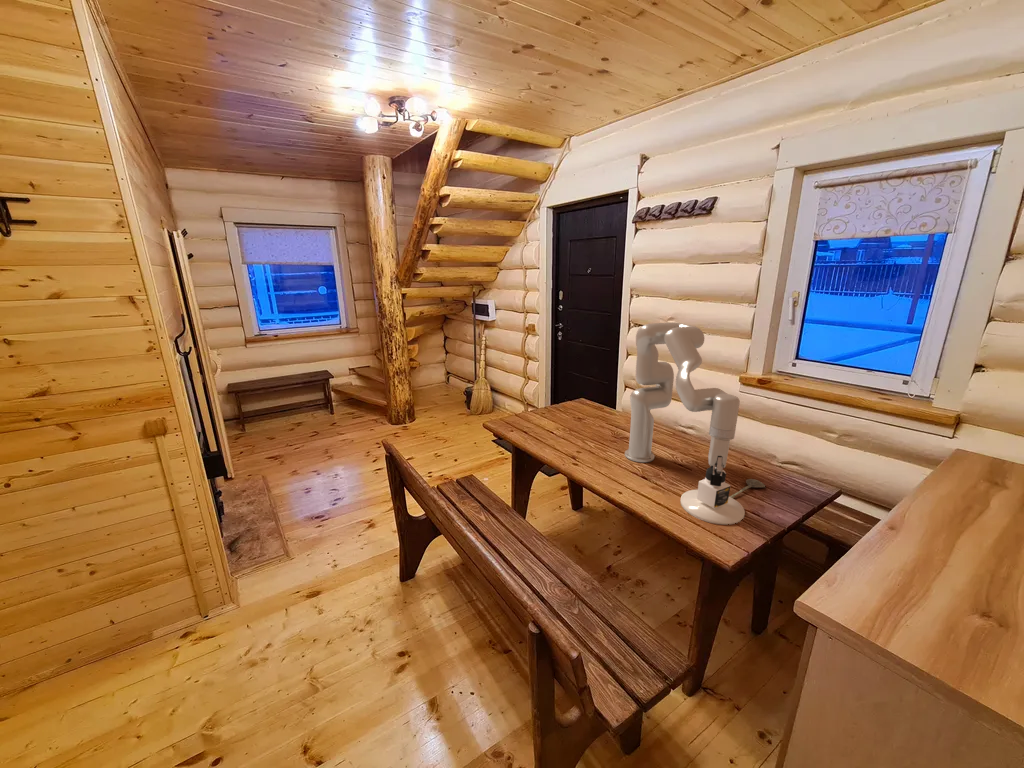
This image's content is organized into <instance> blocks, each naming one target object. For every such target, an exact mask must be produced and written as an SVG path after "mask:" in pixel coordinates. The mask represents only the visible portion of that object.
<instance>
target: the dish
mask: <svg viewBox="0 0 1024 768" xmlns="http://www.w3.org/2000/svg"><path fill="white" fill-rule="evenodd" d="M697 492H698V489H690V490H687V491H685V492H682V494H681V497H680V506H681V507H682V508H683V510H684V511H685V512H687V513H688V514H689V515H690V516H692V517H694V518H696V519H698V520H700V521H703V522H706V523H710V524H715V525H725V526H730V525H736V524H738V522H739V523H740V522H742V521H743V520H744V518H745V513H746V512H745V508H744V506H743V505H742V504H741V503H740V502H739V501H737V500H736V499H734V497H733V498H731V497H729V498H728V503H727V504H724V505H722V506H719V507H717V508H712V507H711V506H709V505H707V504H705V503H703V502H702V501H700V500H698V499H697ZM742 519H743V520H742ZM741 520H742V521H741ZM735 523H736V524H735ZM728 524H729V525H728Z"/></svg>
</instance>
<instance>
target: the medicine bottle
mask: <svg viewBox="0 0 1024 768" xmlns="http://www.w3.org/2000/svg"><path fill="white" fill-rule="evenodd" d="M715 469H717V468H716V467H715ZM711 473H713V467H711V466H709V467H708V468H706V472H705V477H704V478H703V479H702V480H699V481H698V485H697V490H698V492H697V499H698V500H700V501H702V502H703V503H705V504H707V505H709V506H711V507H712V508H717V507H719V506H722V505H724V504H727V503H728V498H729V496H730V489H731V485H730V484H729V483H727V482H726V477H727V473H726V471H725V470H724V469H723V470H722V481H721V486H715V485H711V484H710V480H711Z"/></svg>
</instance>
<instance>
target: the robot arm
mask: <svg viewBox="0 0 1024 768" xmlns="http://www.w3.org/2000/svg"><path fill="white" fill-rule="evenodd" d="M704 343H705V334H704V332H703V330H702V329H701V328H700V327H698V326H695V325H691V324H685V323H682V322H652V323H647V324H644V325H641V326H640V327H639V328H638V330H637V331H636V334H635V345H636V346H635V347H636V363H635V364H636V365H635V380H636V381H635V382H636V383H637V384H638V385H641V386H647V387H641V388H636V389H634V390H632V391H631V393H630V396H629V401H630V411H631V412H630V429H629V442H628V449H626V450H625V451H624V456H625V457H626V459H628V460H629V461H632V462H637V463H651V462H652V461H654V460H655V454H654V453H653V452H652V447H653V446H652V445H653V438H654V437H653V435H654V427H655V426H654V423H655V419H654V416H653V415H652V413H651V410H656V409H664V408H667V407H669V406H670V405H671V402H672V398H673V389H674V378H675V377H676V378H675V389H676V392H677V393H676V394H677V395H678V397H679V399H680V401H681V403H682V405H683V406H684V408H685V409H686V410H687V411H689V412H692V413H693V412H694V413H697V412H700V413H701V412H706V411H711V415H710V422H709V430H708V435H709V436H710V443H709V450H708V457H707V459H708V460H707V461H708V465H709V467H713V473H711V480H710V484H711V485H715V486H721V481H722V470H724V469H725V468H726V465H727V461H728V456H729V455H728V454H729V448H730V443H731V440H734V439H735V437H736V436H735V434H736V429H737V421H738V415H739V409H740V398H738V396H737V395H734V394H728V393H727V392H725V391H724V390H723V389H720V388H719V387H710V388H709V387H708V388H699V389H698V388H697V389H695V388H694V385H693V384H692V382H691V379H690V375H691V374H690V373H692V372H694V371H695V370H697V369H698V368H699V367H700V366H701V365H702V364H703V363H702V362H703V358H702V357H701V355H700V352H699V351H698V349H699V348H701V347H703V345H704ZM656 345H666V347H667V349H668V351H669V354H670V355H671V357H672V358H673V359H672V360H673V361H674V363H675V365H676V367H677V370H678V371H677V373H676V376H675V374H674V373H675V372H674V368H673V367H672V365H671V363H669V362H668V361H659V350H658V348H657V346H656ZM674 376H675V377H674ZM654 385H655V386H654ZM715 467H716V468H717V469H715Z"/></svg>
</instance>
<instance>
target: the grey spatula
mask: <svg viewBox="0 0 1024 768" xmlns="http://www.w3.org/2000/svg"><path fill="white" fill-rule="evenodd" d="M745 482H746V485H747V486H744V487H743V488H741V489H740V490H739V491H737V492H735V493H733V494H732V495H729V497H731V498H733V499H734V498H735V497H736V496H737V495H739V494H741V493H743V492H744V491H746V490H747V489H750V488H766V487H765V486H766V485H765V483H763V482H761V481H760V480H758V479H754V478H749V479H748V478H747V479H746V480H745Z"/></svg>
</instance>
